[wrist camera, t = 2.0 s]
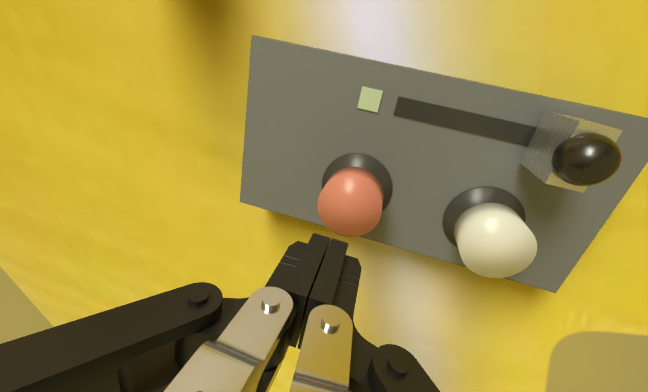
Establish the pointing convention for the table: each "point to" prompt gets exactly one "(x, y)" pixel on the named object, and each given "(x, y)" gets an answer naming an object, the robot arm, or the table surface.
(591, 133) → the lever
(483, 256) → the white button
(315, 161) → the panel
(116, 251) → the table surface
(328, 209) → the red button
